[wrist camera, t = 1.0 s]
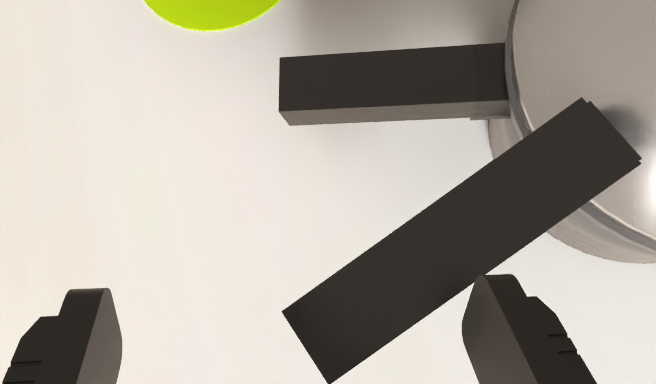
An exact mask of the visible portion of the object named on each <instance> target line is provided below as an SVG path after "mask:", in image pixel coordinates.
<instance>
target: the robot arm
mask: <svg viewBox="0 0 656 384" xmlns="http://www.w3.org/2000/svg"><path fill="white" fill-rule="evenodd" d="M462 336H463V342H464V345H465V348H466V351H467V353H468V356H469V358H470V361H471V363H472V366H473V369H474V371H475V374H476V376H477V379H478V381H479V384H597V383H596V381H595V380H594V378H593V376H592V375H591V373H590V371H589V369H588V368H587V366H586V364H585V363H584V361H583V359H582V358H581V356H580V355H578V354H577V349H576V348H575V346H574V344H573V342H572V341H571V339H570V338H568V337H567V332H566V331H565V329H564V327H563V326H562V324H561V322H560V321H559V319H558V317H557V315H556V314H555V313H554V312H553V311H552V310H551V309H550V308H549V307H548V306H546V305H545V304H544V303H543V302H542V301H541V300H540V299H539V298H538V297H537V296H535V297H527V296H526V294H525V292H524V291H523V289H522V287H521V285H520V283H519V282H518V280H517V278H516V277H515V276H514V275H512V274H503V275H480V276H478V277H477V278H476V280H475V283H474V286H473V289H472V292H471V295H470V298H469V301H468V304H467V307H466V310H465V314H464V317H463V320H462ZM121 358H122V336H121V331H120V327H119V323H118V319H117V315H116V311H115V306H114V302H113V298H112V294H111V291H110V289H109V288H95V289H71V290H69V291H68V292H67V294H66V296H65V299H64V301H63V304H62V307H61V310H60V312H59V315H58V316H47V317H40V318H39V319H38V320H37V321H36V322H35V323H34V325H33V326H32V327H31V328H30V329H29V330H28V331H27V332H26V333H25V334H24V335H23V336H22V338H21V339H20V341H19V344H18V346H17V349H16V351H15V353H14V356H13V358H12V361H11V367H9V368H8V370H7V372H6V375H5V377H4V380H3V382H2V383H3V384H116V382H117V378H118V373H119V369H120V364H121Z"/></svg>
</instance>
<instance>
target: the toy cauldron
mask: <svg viewBox="0 0 656 384" xmlns="http://www.w3.org/2000/svg"><path fill="white" fill-rule="evenodd" d="M144 1H145V2H146V4H147V5H148V6H149V7H150V8H151V9H152V10H153V11H154V12H155V13H156V14H157V15H159V16H160V17H162V18H163V19H165V20H167V21H168V22H170V23H172V24H174V25H177V26H180V27H183V28H186V29H191V30H199V31H216V30H225V29H229V28H232V27H236V26H240V25H242V24H245V23H247V22H249V21H251V20H253V19H256V18H258V17H259V16H261V15H262V14H264V13H265V12H266V11H268V10H269V9H271V8H272V7H274V6H275V5H276V4H277V3H278V2H279V1H280V0H144Z"/></svg>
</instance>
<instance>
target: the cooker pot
mask: <svg viewBox="0 0 656 384" xmlns="http://www.w3.org/2000/svg"><path fill="white" fill-rule="evenodd" d="M519 2H520V0H515V3H514V6H513V9H512V12H511V15H510V19H509V22H508V25H507V29H506V36H505V42H504V43H493V44H478V45H463V46H448V47H433V48H418V49H402V50H387V51H372V52H357V53H342V54H327V55H312V56H297V57H282V58H280V74H279V113H280V114H281V115H282V116H283V118H284V119H285V120H286V121H287V123H288V124H289V125H290V126H293V125H315V124H337V123H359V122H381V121H403V120H425V119H447V118H469V117H470V120H486V119H489V137H490V145H491V150H492V154H493V158H494V159H496V158H497V157H498V156H500V155H501V154H502V153H504V152H505V151H507V150H508V149H509V148H511V147H512V146H514V145H515V144H516V143H518V142H519V141H521V140H522V139H523V138H525V137H526V136H528V135H529V134H530V133H529V131H528V129H527V127H526V124H525V122H524V119H523V117H522V114H521V111H520V109H519V106H518V103H517V98H516V94H515V90H514V85H513V81H512V69H511V57H510V55H511V39H512V30H513V25H514V20H515V15H516V11H517V7H518V4H519ZM546 232H547V233H548V234H550V235H551V236H553V237H555V238H556V239H558V240H560V241H561V242H563V243H565V244H566V245H568V246H571V247H573V248H575V249H577V250H580V251H582V252H584V253H587V254H590V255H594V256H597V257H600V258H603V259H608V260H614V261H619V262H626V263H643V264H646V263H656V243H654V242H652V241H649V240H647V239H645V238H643V237H641V236H639V235H637V234H635V233H633V232H630V231H628V230H626V229H624V228H622V227H621V226H619V225H618V224H616V223H614V222H613V221H611V220H610V219H608V218H606V217H605V216H603V215H602V214H600V213H598V212H597V211H596V210H595V209H594V208H592V207H591V206H590V205H589V204H587V203H586V204H584V205H583V206H581V207H580V208H578V209H577V210H576V211H574V212H573V213H571V214H570V215H569V216H567V217H566V218H564V219H563V220H562V221H560V222H559V223H557V224H556V225H554V226H553V227H552V228H550V229H549V230H547V231H546Z"/></svg>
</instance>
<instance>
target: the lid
mask: <svg viewBox="0 0 656 384" xmlns="http://www.w3.org/2000/svg"><path fill="white" fill-rule="evenodd" d="M510 57H511V69H512V81H513V85H514V90H515V94H516V98H517V103H518V106H519V109H520V111H521V114H522V117H523V119H524V122H525V124H526V127H527V129H528V131H529V133H530V134H529V135H528V136H526V137H525V138H523V139H522V140H521V141H519V142H518V143H516V144H515V145H514V146H512V147H511V148H509V149H508V150H507V151H505V152H504V153H502V154H501V155H500V156H498V157H497V158H496V159H494V160H493V161H491V162H490V163H489V164H487V165H486V166H484V167H483V168H482V169H480V170H479V171H477V172H476V173H475V174H473V175H472V176H470V177H469V178H468V179H466V180H465V181H463V182H462V183H461V184H459V185H458V186H456V187H455V188H454V189H452V190H451V191H449V192H448V193H447V194H445V195H444V196H442V197H441V198H440V199H438V200H437V201H435V202H434V203H433V204H431V205H430V206H428V207H427V208H426V209H424V210H423V211H421V212H420V213H419V214H417V215H416V216H414V217H413V218H412V219H410V220H409V221H407V222H406V223H405V224H403V225H402V226H400V227H399V228H398V229H396V230H395V231H393V232H392V233H391V234H389V235H388V236H386V237H385V238H384V239H382V240H381V241H379V242H378V243H377V244H375V245H374V246H372V247H371V248H370V249H368V250H367V251H365V252H364V253H363V254H361V255H360V256H359V257H357V258H356V259H354V260H353V261H352V262H350V263H349V264H347V265H346V266H345V267H343V268H342V269H340V270H339V271H338V272H336V273H335V274H333V275H332V276H331V277H329V278H328V279H326V280H325V281H324V282H322V283H321V284H319V285H318V286H317V287H315V288H314V289H312V290H311V291H310V292H308V293H307V294H305V295H304V296H303V297H301V298H300V299H298V300H297V301H296V302H294V303H293V304H291V305H290V306H289V307H287V308H286V309H284V310H283V311H282V313H283V315H284V316H285V318H286V319H287V321H288V322H289V324H290V326H291V327H292V329H293V330H294V332H295V333H296V335H297V336H298V338H299V340H300V341H301V343H302V344H303V346H304V347H305V349H306V350H307V352H308V354H309V355H310V357H311V358H312V360H313V361H314V363H315V364H316V366H317V368H318V369H319V371H320V372H321V374H322V375H323V377H324V378H325V380H326V382H327V383H328V384H331V383H333V382H334V381H335V380H337V379H338V378H340V377H341V376H342V375H344V374H345V373H347V372H348V371H350V370H351V369H352V368H354V367H355V366H357V365H358V364H359V363H361V362H362V361H364V360H365V359H366V358H368V357H369V356H371V355H372V354H374V353H375V352H376V351H378V350H379V349H381V348H382V347H383V346H385V345H386V344H388V343H389V342H391V341H392V340H393V339H395V338H396V337H398V336H399V335H400V334H402V333H403V332H405V331H406V330H407V329H409V328H410V327H412V326H413V325H415V324H416V323H417V322H419V321H420V320H422V319H423V318H424V317H426V316H427V315H429V314H430V313H431V312H433V311H434V310H436V309H437V308H439V307H440V306H441V305H443V304H444V303H446V302H447V301H448V300H450V299H451V298H453V297H454V296H456V295H457V294H458V293H460V292H461V291H463V290H464V289H465V288H467V287H468V286H470V285H471V284H472V283H474V282H475V280H476V278H477V277H478V276H480V275H485V274H487V273H488V272H489V271H491V270H492V269H494V268H495V267H497V266H498V265H499V264H501V263H502V262H504V261H505V260H506V259H508V258H509V257H511V256H512V255H513V254H515V253H516V252H518V251H519V250H521V249H522V248H523V247H525V246H526V245H528V244H529V243H530V242H532V241H533V240H535V239H536V238H537V237H539V236H540V235H542V234H543V233H545V232H546V231H547V230H549V229H550V228H552V227H553V226H554V225H556V224H557V223H559V222H560V221H562V220H563V219H564V218H566V217H567V216H569V215H570V214H571V213H573V212H574V211H576V210H577V209H578V208H580V207H581V206H583V205H584V204H586V203H587V204H589V205H590V206H591V207H592V208H594V209H595V210H596V211H597V212H598V213H600V214H602V215H603V216H605V217H606V218H608V219H610V220H611V221H613V222H614V223H616V224H618V225H619V226H621V227H622V228H624V229H626V230H628V231H630V232H633V233H635V234H637V235H639V236H641V237H643V238H645V239H647V240H649V241H652V242H654V243H656V0H520V2H519V4H518V7H517V11H516V15H515V20H514V25H513V30H512V39H511V55H510Z"/></svg>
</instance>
